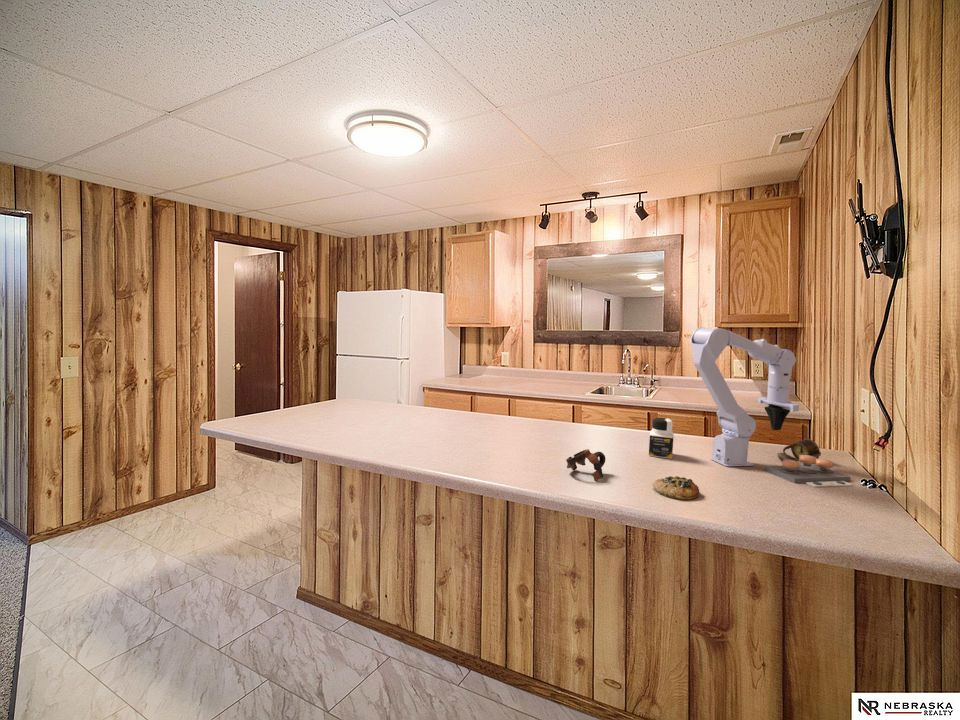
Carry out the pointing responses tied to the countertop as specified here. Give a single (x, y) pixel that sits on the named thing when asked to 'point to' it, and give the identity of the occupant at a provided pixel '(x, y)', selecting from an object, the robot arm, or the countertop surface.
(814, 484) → the card
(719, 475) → the countertop surface
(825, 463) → the button
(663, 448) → the medicine bottle
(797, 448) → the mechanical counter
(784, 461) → the button
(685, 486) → the bread roll
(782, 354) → the robot arm
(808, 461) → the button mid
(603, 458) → the brown jointed linkage
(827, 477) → the board
